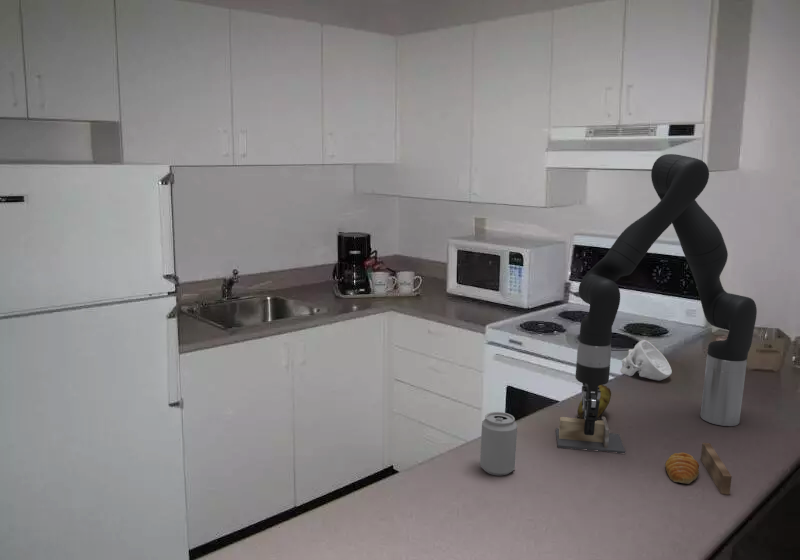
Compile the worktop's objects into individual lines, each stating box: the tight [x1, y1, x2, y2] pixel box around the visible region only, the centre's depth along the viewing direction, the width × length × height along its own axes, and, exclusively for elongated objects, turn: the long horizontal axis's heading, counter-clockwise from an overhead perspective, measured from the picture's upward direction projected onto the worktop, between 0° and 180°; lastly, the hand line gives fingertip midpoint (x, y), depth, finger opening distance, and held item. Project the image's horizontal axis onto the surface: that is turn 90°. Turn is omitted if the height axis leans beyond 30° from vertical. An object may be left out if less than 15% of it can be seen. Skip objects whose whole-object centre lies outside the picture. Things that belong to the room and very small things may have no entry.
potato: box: [577, 384, 612, 419], centre depth 174 cm, size 8×13×8 cm, turn 129°
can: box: [479, 411, 518, 476], centre depth 143 cm, size 8×8×12 cm
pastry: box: [664, 452, 700, 485], centre depth 143 cm, size 9×7×4 cm
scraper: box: [558, 416, 610, 448], centre depth 159 cm, size 11×8×4 cm
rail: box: [700, 442, 733, 496], centre depth 143 cm, size 16×2×4 cm, turn 170°
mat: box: [555, 427, 626, 454], centre depth 159 cm, size 10×15×1 cm, turn 80°
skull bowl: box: [619, 339, 673, 381], centre depth 208 cm, size 10×14×12 cm
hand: (587, 430), depth 159 cm, fingers open, 4 cm apart
